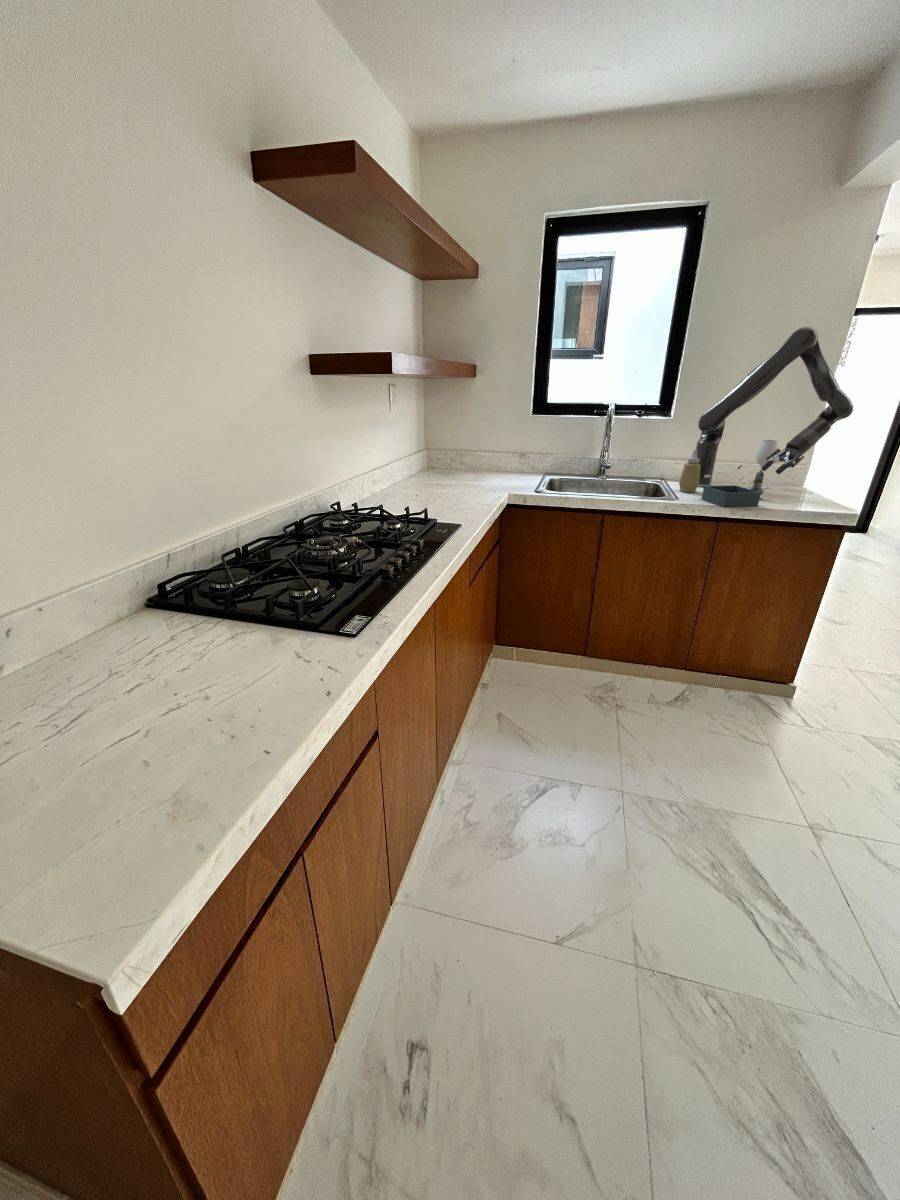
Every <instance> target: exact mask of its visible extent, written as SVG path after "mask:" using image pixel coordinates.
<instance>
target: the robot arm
mask: <svg viewBox="0 0 900 1200" xmlns="http://www.w3.org/2000/svg"><path fill="white" fill-rule="evenodd" d="M799 357H800V359H801V360H802V362H803V364H804V366H805V369H806V370H807V372H808V375H809V379H810V381H811V382H810V383H811V384H812V387H813V390H814V391H815V393H816V395H817V397H818V399H819V400H820V401H821V402H826V403H827V404H828V406H827V407H825V408H824V409H823V410H822V411H820V413H819V415H817V417H816V418H815V419H814V420H812V421H811V422H810V423H809V424H808V425H807V426H806V427H805V428H803V429H802V430H800V432H798V433H797V434H796V435H795V436H794V437H793V438H791V439H790V440H789V441H788V442H787V443H786V444H785V448H784V449H782V450H780V448H777V450H775V451H774V452H773V453H772V454H771V455H769V456H768V457H767V458H766V459H767V462H766V463H765V464H764V465H763V466H762V467H761V466H760V468H761V469H760V470H763V472H766V471H767V470H768V469H769V468H770V467H772V465H774V464H779V463H782V464H781V465H780V466H779V467H777V468H776V469H775V473H776V474H777V475H780V474H782V473H783V472H784V471H786V470H787V469H789V468H791V469H792V468H795V467H796V466H797V465H798V464H799V463H801V461H802V460H804V458H805V456H804V455H805V454H806V453H807V452H808V451H809V450H810V449H812V448H813V447H814V446H815V445H817V443H818V442H819V441H820V440H821V439H822V438H823V437H824V436H826V434H828V433H829V432H830V430H831V429H832V426H833V425H834V424H836V423H837V422H838V421H842V420H844V419H847V418H849V417H850V416H851V415H852V414H853V412H854V404H853V401H852V400H851V399H850V397H849V396H848V395H847V394H846V393H845V391H843V390H842V389H841V388H840V385H839V383H838V381H837V379H836V377H835V375H834V373H833V372H832V370H831V368H830V366H829V364H828V362H827V360H826V358H825V356H824V354H823V351H822V347H821V345H820V341H819V333H818V331H817V329H815V328H814V327H812V326H803V327H799V328H797V329H796V330H794V332H792V333H791V335H789V337H788V338H787V339H786V340H785V341H784V342H783V343H782V344H781V345H780V347H778V348H777V349H776V351H774V352H773V354H771V355H770V356H769V357H768V358H766V359H765V360H764V361H762V362H761V363H759V364H758V365H757V366H756V367H755V368H753V369H752V370H751V371H750V372H749V373H748V374H746V376H744V377H743V378H742V379H741V380H740V381H739V382H738V383H737V384H736V385H735V386H734V387H733V388H732V389H731V390H730V391H729V392H728V393H727V394H726V395H724V397H723V398H722V399H721V400H719V402H717V403H716V404H715V405H713V406H712V407H711V408H710V409H708V410H707V411H705V412H704V413H703V414H702V415H701V416H700V418H699V420H698V424H697V426H698V429H699V430H700V431H701V434H700V437H699V439H698V440H697V441H696V445H695V450H697V458H698V459H699V463H698V464H700V465H701V467H700V479H699V485H698V487H702V488H704V486H712V480H713V475H714V470H715V465H716V460H717V455H718V450H719V447H720V443H721V441H722V439H723V435H724V430H725V425H726V419H727V418H728V417H729V416H730V415H732V414H733V412H735V411H736V410H738V409H739V408H741V407H743V406H744V405H746V404H747V403H749V402H750V401H752V400H753V399H755V398H756V397H757V396H759V394H760V393H762V392H763V391H764V390H765V389H767V388H768V387H769V385H771V384H772V383H773V381H774V380H776V378H777V377H778V376H779V375H780V374H781V373H782V371H783V370H784V369H785V368H787V367H788V366H789V365H790V364H791V363H793V362H794V361H796V359H798V358H799ZM771 457H772V458H771Z"/></svg>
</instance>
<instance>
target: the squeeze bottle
mask: <svg viewBox="0 0 900 1200" xmlns="http://www.w3.org/2000/svg"><path fill="white" fill-rule="evenodd" d="M698 463H699V459H698V458H697V450H696V449H693V451H692V453H691V456H690V457H688V458H687V460H686V463H684V464H683V469H682V472H681V475H680V478H679V482H678V483H679V491H680V492H682V493H690V494H691V493H695V492H696V490H697V488H698V487H699V486H698V485H699V479H700V467H701V465H700V464H698Z"/></svg>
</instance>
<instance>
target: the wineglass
mask: <svg viewBox="0 0 900 1200" xmlns="http://www.w3.org/2000/svg"><path fill="white" fill-rule="evenodd" d="M777 449H778V440H774V439H761V441H760V444H759V446H758V449H757V452H756V455H755V459H756V462H757V464H758V465H759V466H760V468H761V467H762V466H763V465H764V464H765V463H766V462H767V459H766V458H767V457H768V456H769V455H771V454H772V453H773V452H774V451H775V450H777ZM771 458H772V457H771ZM761 470H762V469H761ZM762 472H763V473H764V471H763V470H762ZM752 487H753V484H752V485H751V484H750V485H749V488H750V489H751V488H752ZM761 489H762V490H766V489H768V487H767V486H765V485H763V484H762V485H761Z"/></svg>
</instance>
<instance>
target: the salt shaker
mask: <svg viewBox="0 0 900 1200" xmlns="http://www.w3.org/2000/svg"><path fill="white" fill-rule="evenodd" d="M764 475H765V473H764V471H763V472H762V469H760V470H759V471H756V473H755V476H754V479H753V480H752V481H753V483H752V485H753V487H752V488H751V487H750V489H751V490H754V491H758V492H761V495H760V499H759V501H761V500H762V498H761V496H762V495H763V493H764V492H765V489H761V485H762V486H763V482H764V480H763V479H764Z"/></svg>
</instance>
